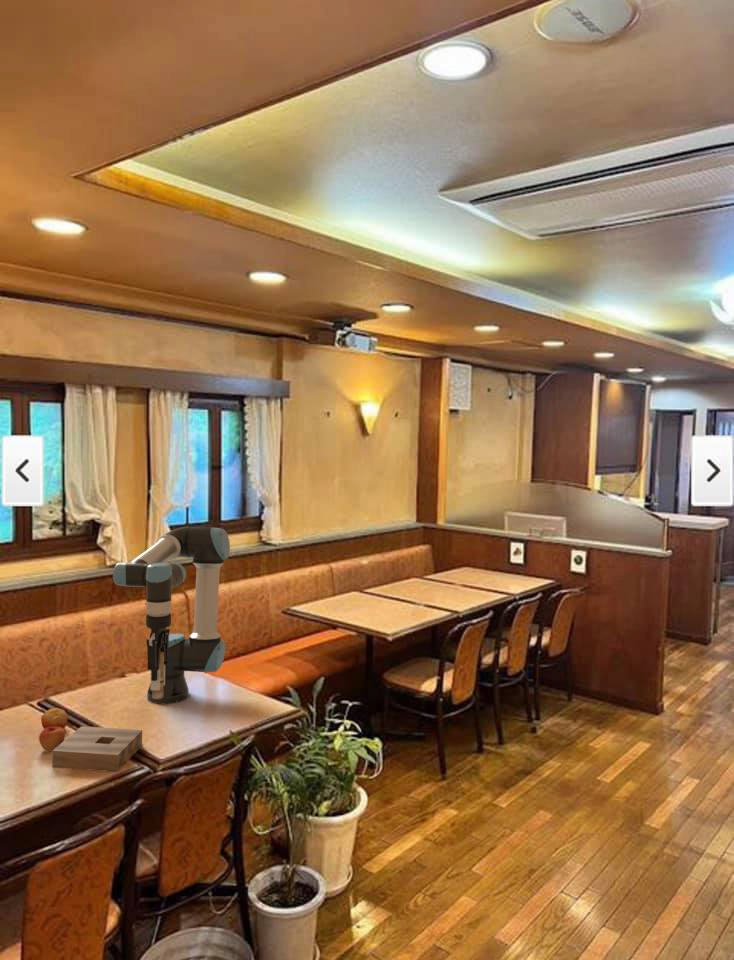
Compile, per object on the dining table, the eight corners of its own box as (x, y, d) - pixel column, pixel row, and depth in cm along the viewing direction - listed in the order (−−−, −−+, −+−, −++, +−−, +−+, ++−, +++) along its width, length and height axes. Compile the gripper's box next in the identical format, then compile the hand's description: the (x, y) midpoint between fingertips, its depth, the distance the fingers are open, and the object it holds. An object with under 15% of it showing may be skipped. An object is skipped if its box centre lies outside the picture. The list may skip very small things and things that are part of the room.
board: (81, 741, 225) (81, 726, 225) (142, 745, 224) (142, 729, 224) (52, 767, 207) (52, 750, 207) (117, 771, 206) (117, 755, 206)
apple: (63, 753, 216) (63, 728, 216) (37, 756, 214) (37, 730, 214) (66, 743, 223) (66, 719, 223) (41, 746, 221) (41, 721, 221)
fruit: (59, 717, 240) (64, 701, 237) (67, 735, 236) (72, 719, 232) (34, 723, 235) (39, 707, 231) (42, 742, 230) (47, 725, 227)
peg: (154, 694, 222) (154, 651, 221) (165, 695, 221) (165, 651, 220) (150, 698, 218) (150, 654, 217) (161, 699, 218) (161, 655, 217)
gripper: (156, 606, 227) (156, 677, 228) (136, 619, 210) (135, 696, 211) (179, 607, 226) (178, 679, 227) (160, 621, 209) (159, 697, 211)
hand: (157, 687), depth 219 cm, fingers closed on peg, 3 cm apart
